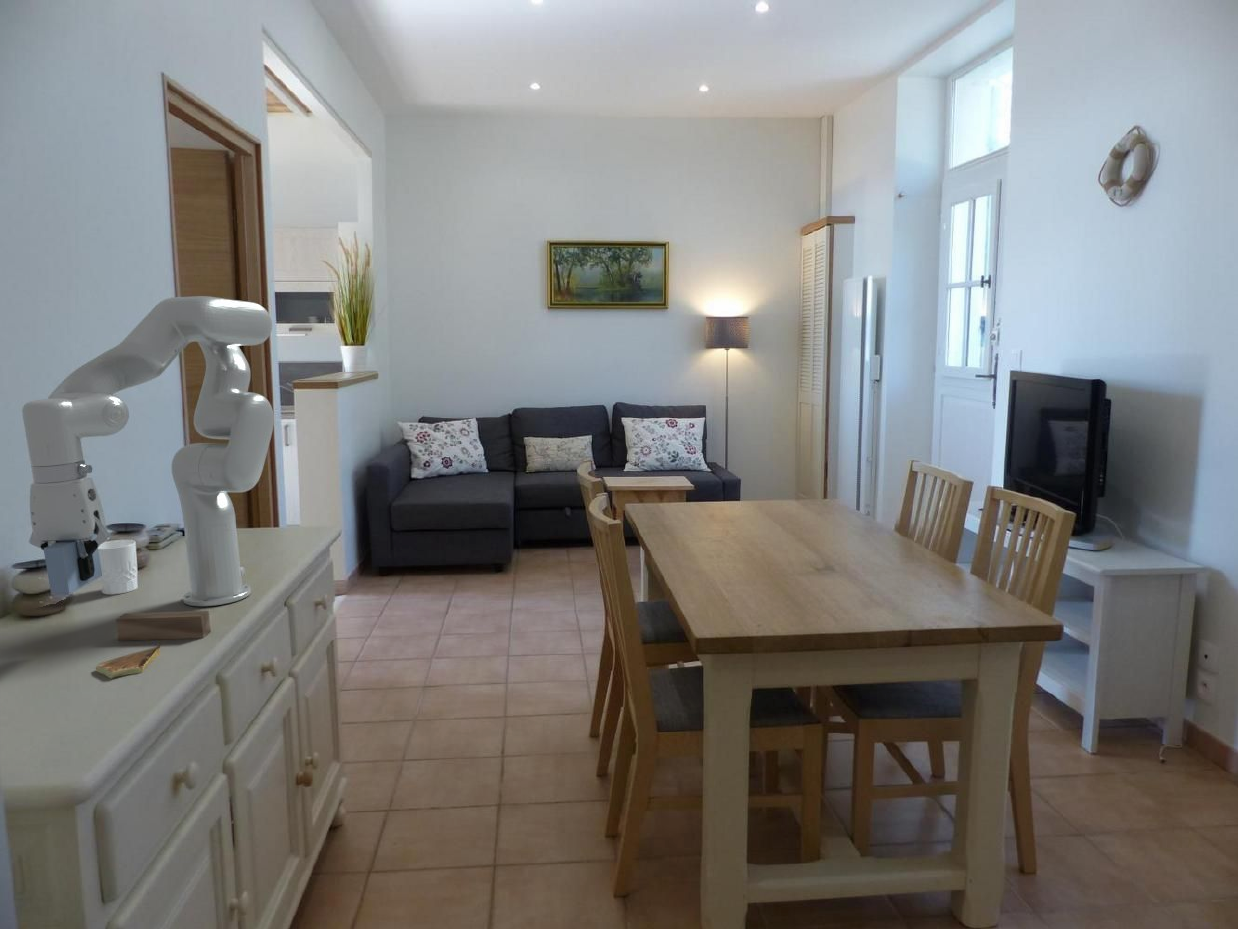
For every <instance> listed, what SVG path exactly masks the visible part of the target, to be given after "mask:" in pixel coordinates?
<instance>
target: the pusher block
mask: <svg viewBox="0 0 1238 929" xmlns="http://www.w3.org/2000/svg"><path fill="white" fill-rule="evenodd" d="M96 538H97V535H96V534H94V535H93V537H92V539H93V540H94V539H96ZM43 554H44V559H45V560H44V561H45V565H46V572H47V578H48V581H49V582H48V584H49V590H50V594H51V596H64V595H67V596H68V595H71V594H73V593H75V592H76V591H78V590H79V589H82V588H84V587H85V586H87V585H89V584H90V583H93V581H95V580H97V579H99V577H101V576H102V570H101V564H100V557H99V551H98V548H97V549H96V550H95V553H93V554H92V555H93V561H94V568H95V572H94V576H93V577H91V578H89V579H88V580H86V581H81V580H80V574H79V568H78V562H77V559H78V558H80V555H79V552H78V548H77V544H76V540H73V541H59V542H57V543H54V544H52V545H50V546H48V547H46V548H44V551H43Z"/></svg>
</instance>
